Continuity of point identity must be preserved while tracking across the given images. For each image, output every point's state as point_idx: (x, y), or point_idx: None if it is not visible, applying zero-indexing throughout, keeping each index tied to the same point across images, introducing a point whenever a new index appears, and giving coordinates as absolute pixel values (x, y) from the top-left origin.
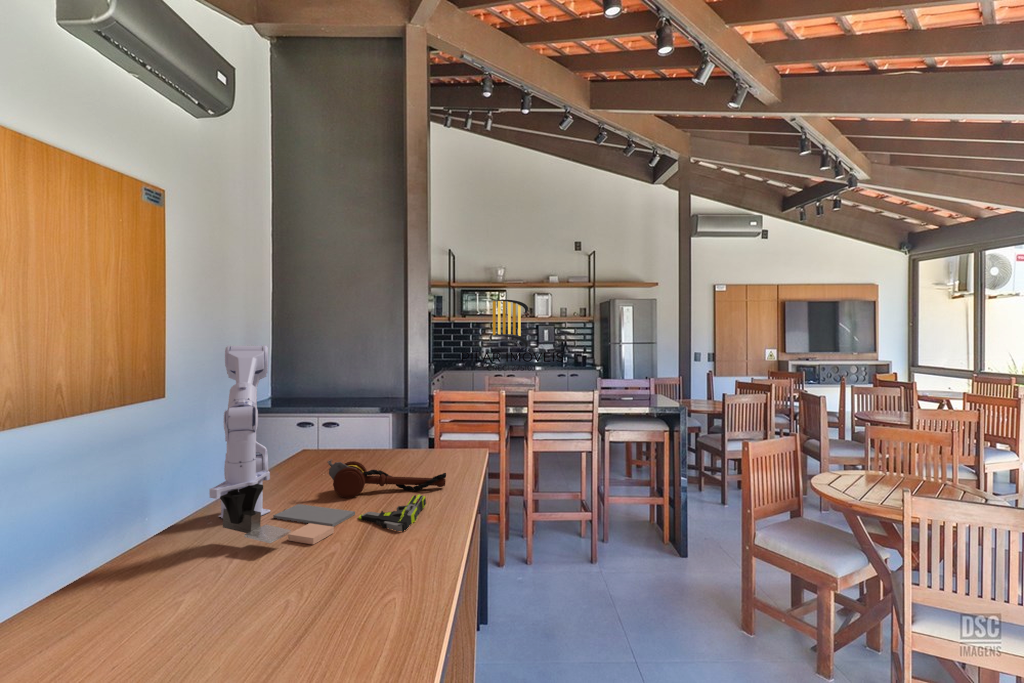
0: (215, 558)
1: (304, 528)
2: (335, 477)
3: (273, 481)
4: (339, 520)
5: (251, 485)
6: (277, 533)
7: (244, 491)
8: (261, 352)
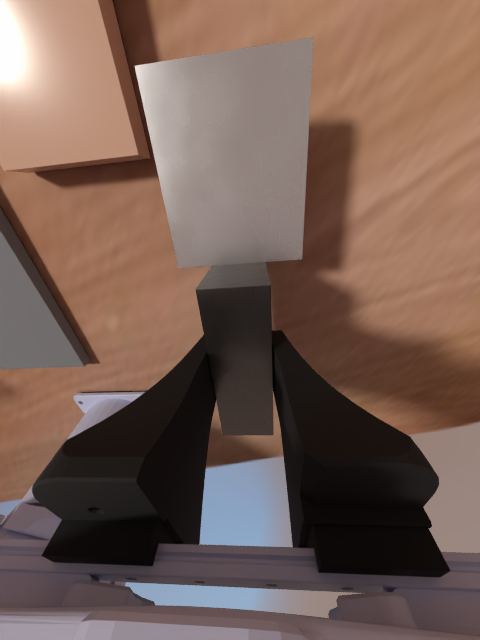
0: (355, 284)
1: (47, 132)
2: None
3: (7, 481)
4: None
5: (140, 540)
6: (214, 106)
7: (191, 492)
8: None
